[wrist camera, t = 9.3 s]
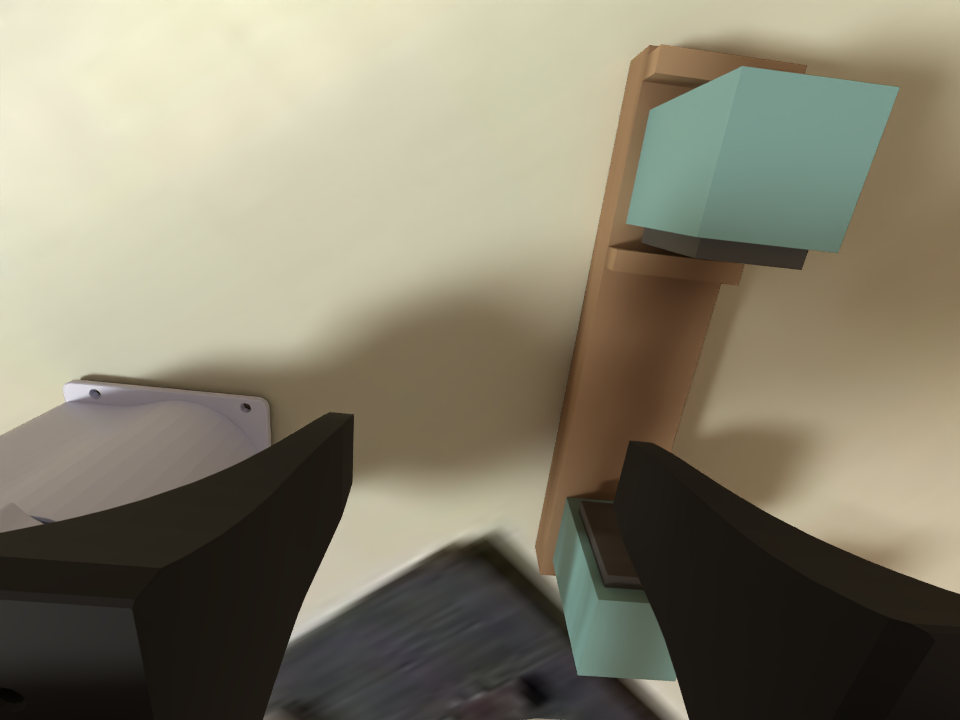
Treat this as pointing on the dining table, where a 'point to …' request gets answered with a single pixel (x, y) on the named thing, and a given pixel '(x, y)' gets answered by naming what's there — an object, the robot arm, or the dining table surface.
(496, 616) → the dining table surface
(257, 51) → the dining table surface
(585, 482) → the rail
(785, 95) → the block
